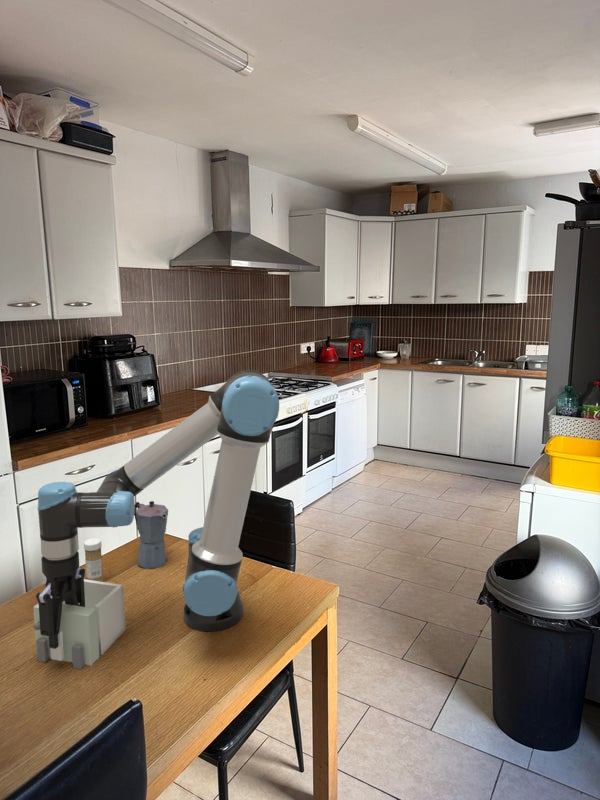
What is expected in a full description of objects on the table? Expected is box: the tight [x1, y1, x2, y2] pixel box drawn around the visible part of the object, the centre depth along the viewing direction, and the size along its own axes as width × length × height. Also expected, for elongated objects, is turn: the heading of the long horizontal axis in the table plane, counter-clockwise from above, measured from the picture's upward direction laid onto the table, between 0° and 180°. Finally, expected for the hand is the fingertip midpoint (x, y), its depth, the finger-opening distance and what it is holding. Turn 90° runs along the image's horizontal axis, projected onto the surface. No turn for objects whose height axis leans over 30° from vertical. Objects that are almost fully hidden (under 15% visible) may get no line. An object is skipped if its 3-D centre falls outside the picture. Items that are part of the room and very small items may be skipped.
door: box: [32, 602, 100, 667], centre depth 124 cm, size 14×4×12 cm, turn 76°
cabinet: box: [35, 578, 127, 670], centre depth 129 cm, size 14×15×12 cm
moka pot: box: [134, 500, 169, 569], centre depth 169 cm, size 10×15×20 cm, turn 58°
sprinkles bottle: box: [83, 537, 104, 582], centre depth 156 cm, size 5×5×13 cm
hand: (65, 651), depth 125 cm, fingers open, 5 cm apart
